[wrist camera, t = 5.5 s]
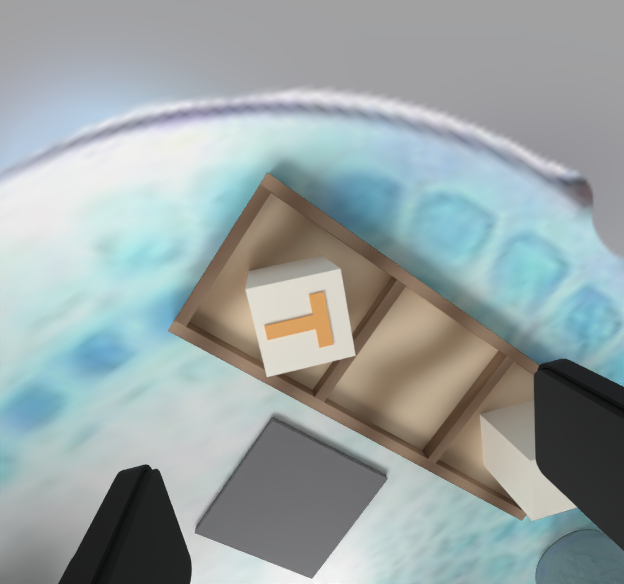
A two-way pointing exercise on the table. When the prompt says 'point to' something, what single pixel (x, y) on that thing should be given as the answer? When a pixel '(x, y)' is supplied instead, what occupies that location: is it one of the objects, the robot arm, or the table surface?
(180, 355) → the table surface
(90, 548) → the robot arm
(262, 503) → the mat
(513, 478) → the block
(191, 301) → the tray board
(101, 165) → the table surface
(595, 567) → the grey green pot
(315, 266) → the letter block
